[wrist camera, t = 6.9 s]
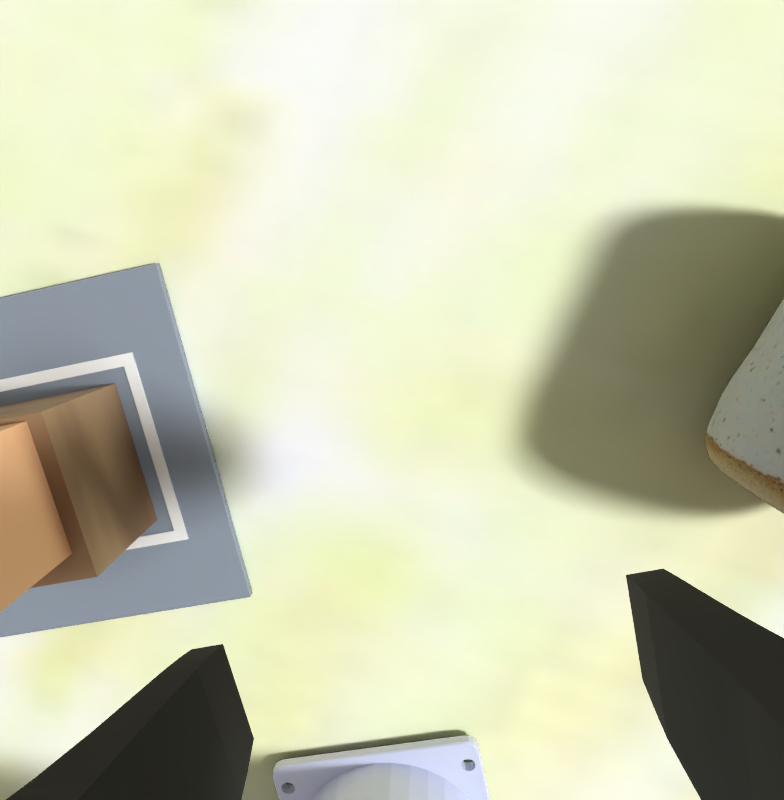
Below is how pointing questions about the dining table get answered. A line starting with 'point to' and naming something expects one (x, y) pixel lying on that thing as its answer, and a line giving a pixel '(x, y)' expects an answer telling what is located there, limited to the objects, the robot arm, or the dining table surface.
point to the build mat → (152, 435)
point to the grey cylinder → (754, 419)
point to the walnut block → (88, 476)
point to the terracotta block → (25, 516)
